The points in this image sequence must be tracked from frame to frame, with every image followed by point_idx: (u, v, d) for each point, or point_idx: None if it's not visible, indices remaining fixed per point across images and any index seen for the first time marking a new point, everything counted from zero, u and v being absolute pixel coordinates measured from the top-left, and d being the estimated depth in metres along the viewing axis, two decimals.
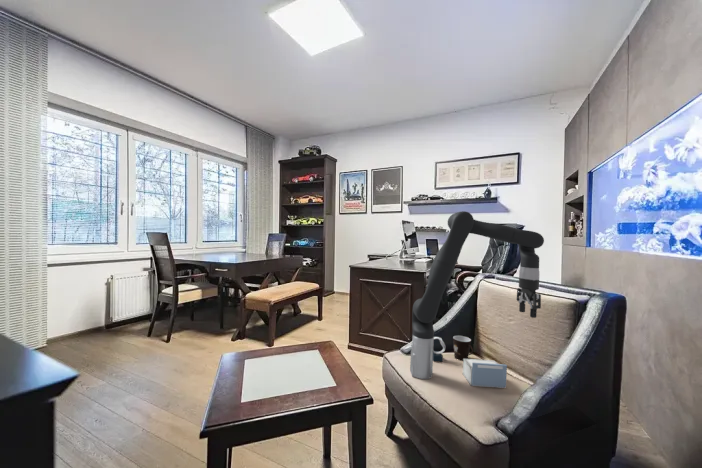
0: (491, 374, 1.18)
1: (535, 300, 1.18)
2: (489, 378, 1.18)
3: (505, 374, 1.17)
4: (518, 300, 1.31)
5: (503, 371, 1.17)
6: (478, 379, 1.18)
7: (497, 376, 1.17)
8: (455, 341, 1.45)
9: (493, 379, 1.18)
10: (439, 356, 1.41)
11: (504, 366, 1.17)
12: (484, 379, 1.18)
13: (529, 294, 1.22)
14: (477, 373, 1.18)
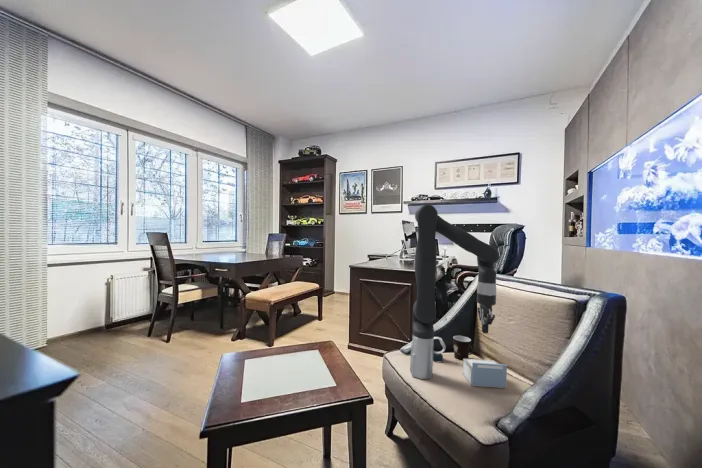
0: (491, 374, 1.18)
1: (488, 320, 1.19)
2: (489, 378, 1.18)
3: (505, 374, 1.17)
4: None
5: (503, 371, 1.17)
6: (478, 379, 1.18)
7: (497, 376, 1.17)
8: (455, 341, 1.45)
9: (493, 379, 1.18)
10: (439, 356, 1.41)
11: (504, 366, 1.17)
12: (484, 379, 1.18)
13: (485, 312, 1.21)
14: (477, 373, 1.18)
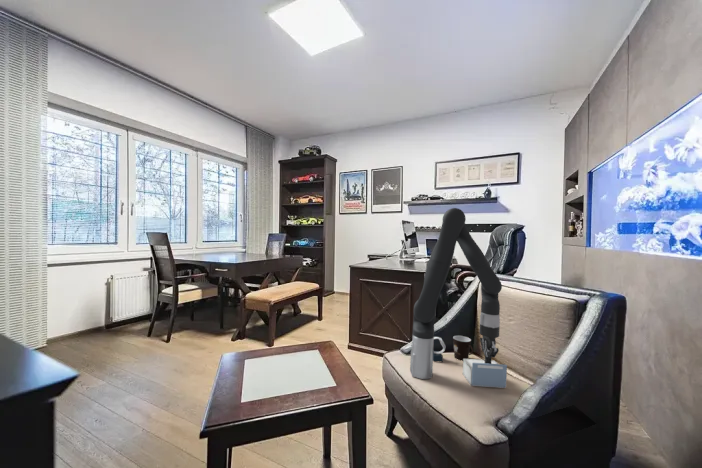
0: (491, 374, 1.18)
1: (491, 353, 1.15)
2: (489, 378, 1.18)
3: (505, 374, 1.17)
4: None
5: (503, 371, 1.17)
6: (478, 379, 1.18)
7: (497, 376, 1.17)
8: (455, 341, 1.45)
9: (493, 379, 1.18)
10: (439, 356, 1.41)
11: (504, 366, 1.17)
12: (484, 379, 1.18)
13: (489, 345, 1.17)
14: (477, 373, 1.18)
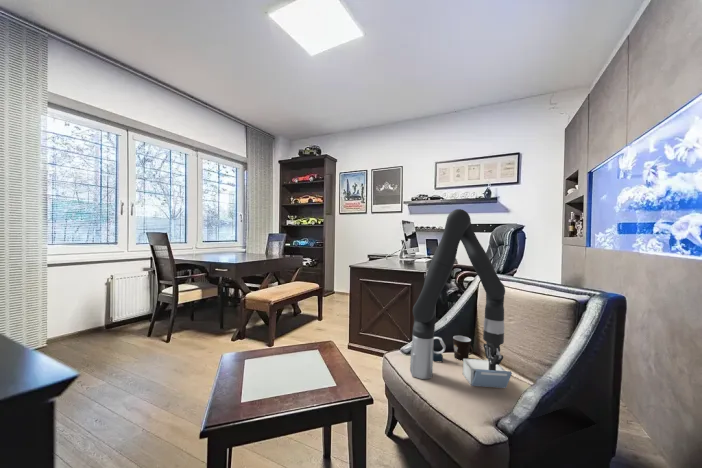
0: (493, 379, 1.15)
1: (495, 360, 1.11)
2: (491, 381, 1.16)
3: (508, 379, 1.15)
4: None
5: (507, 377, 1.14)
6: (479, 382, 1.17)
7: (499, 380, 1.15)
8: (455, 341, 1.45)
9: (495, 382, 1.16)
10: (439, 356, 1.41)
11: (509, 373, 1.13)
12: (485, 382, 1.16)
13: (493, 352, 1.13)
14: (479, 378, 1.16)
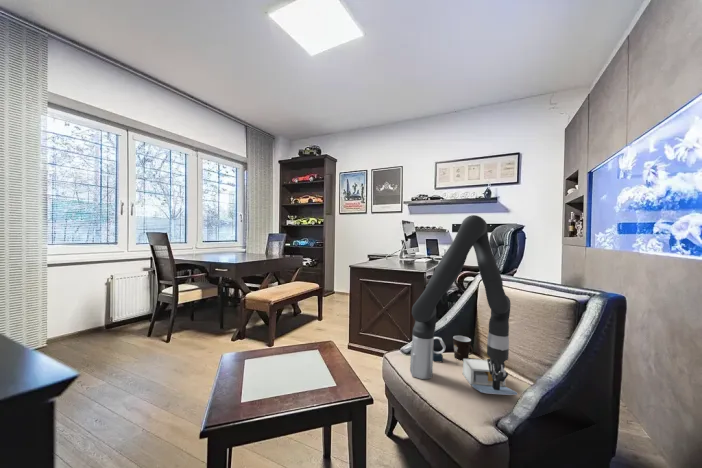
0: None
1: (500, 377, 1.07)
2: None
3: None
4: (491, 373, 1.14)
5: None
6: None
7: None
8: (455, 341, 1.45)
9: None
10: (439, 356, 1.41)
11: None
12: None
13: (497, 368, 1.09)
14: None
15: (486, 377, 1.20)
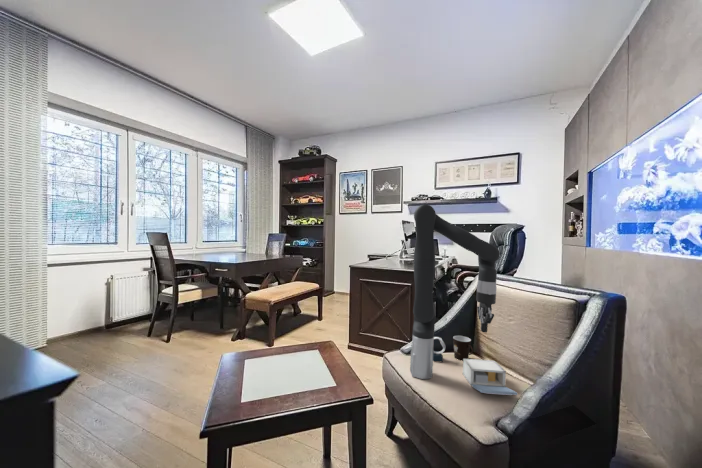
0: None
1: (487, 319, 1.18)
2: None
3: None
4: None
5: None
6: None
7: None
8: (455, 341, 1.45)
9: None
10: (439, 356, 1.41)
11: (514, 394, 1.09)
12: None
13: (485, 311, 1.20)
14: None
15: (486, 377, 1.20)
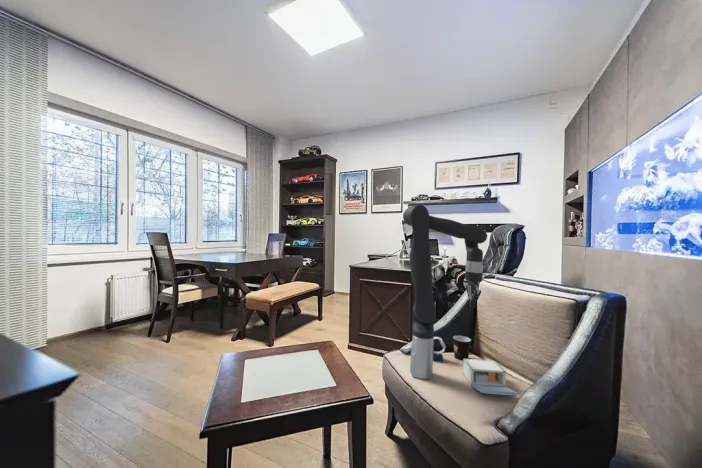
0: None
1: (474, 295, 1.29)
2: None
3: None
4: None
5: None
6: None
7: None
8: (455, 341, 1.45)
9: None
10: (439, 356, 1.41)
11: (514, 394, 1.09)
12: None
13: (473, 288, 1.31)
14: None
15: (486, 377, 1.20)
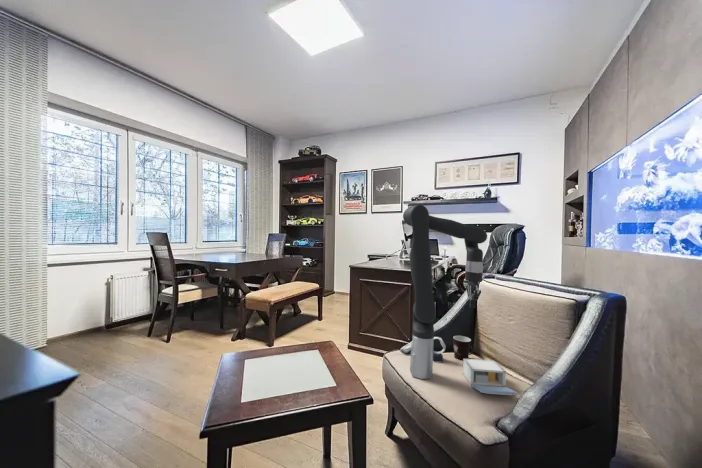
0: None
1: (474, 295, 1.29)
2: None
3: None
4: None
5: None
6: None
7: None
8: (455, 341, 1.45)
9: None
10: (439, 356, 1.41)
11: (514, 394, 1.09)
12: None
13: (473, 288, 1.31)
14: None
15: (486, 377, 1.20)
